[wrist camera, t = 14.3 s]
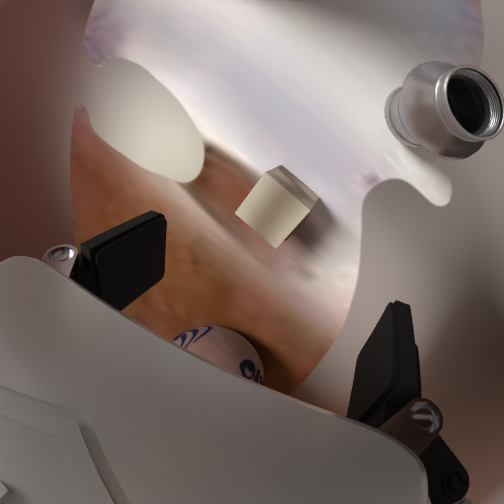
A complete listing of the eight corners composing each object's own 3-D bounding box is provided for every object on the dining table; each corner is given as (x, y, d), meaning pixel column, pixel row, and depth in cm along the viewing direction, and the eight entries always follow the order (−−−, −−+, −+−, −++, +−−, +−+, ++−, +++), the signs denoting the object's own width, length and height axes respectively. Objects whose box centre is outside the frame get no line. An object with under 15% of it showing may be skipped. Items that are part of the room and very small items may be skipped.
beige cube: (254, 200, 36) (234, 213, 31) (281, 164, 33) (265, 171, 28) (291, 231, 36) (277, 250, 31) (321, 198, 33) (312, 212, 28)
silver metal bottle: (423, 84, 22) (496, 31, 6) (443, 140, 24) (538, 161, 7) (373, 96, 25) (390, 45, 9) (394, 152, 27) (440, 184, 10)
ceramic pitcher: (280, 385, 49) (225, 498, 29) (189, 367, 58) (124, 450, 37) (267, 313, 43) (183, 449, 22) (163, 302, 52) (71, 388, 31)
